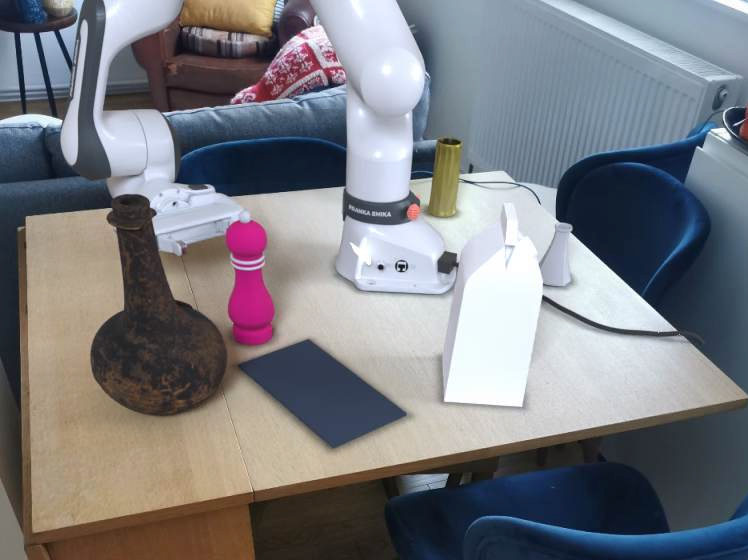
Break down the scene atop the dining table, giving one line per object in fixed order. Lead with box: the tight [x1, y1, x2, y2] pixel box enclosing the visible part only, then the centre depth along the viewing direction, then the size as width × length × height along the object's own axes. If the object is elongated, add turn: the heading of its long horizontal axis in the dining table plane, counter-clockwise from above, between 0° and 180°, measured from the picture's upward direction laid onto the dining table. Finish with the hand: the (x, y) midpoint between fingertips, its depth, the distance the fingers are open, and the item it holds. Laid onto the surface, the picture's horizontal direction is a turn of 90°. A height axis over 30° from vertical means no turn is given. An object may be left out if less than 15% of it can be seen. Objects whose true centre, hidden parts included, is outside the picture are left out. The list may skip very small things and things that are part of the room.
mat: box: [237, 338, 407, 449], centre depth 111 cm, size 24×13×1 cm, turn 39°
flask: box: [538, 222, 574, 287], centre depth 138 cm, size 7×7×10 cm
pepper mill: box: [224, 209, 276, 346], centre depth 114 cm, size 7×7×20 cm
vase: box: [427, 136, 464, 218], centre depth 156 cm, size 6×6×14 cm
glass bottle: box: [89, 194, 228, 417], centre depth 98 cm, size 18×18×28 cm
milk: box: [441, 202, 544, 408], centre depth 106 cm, size 12×12×26 cm
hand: (209, 243), depth 119 cm, fingers open, 8 cm apart
